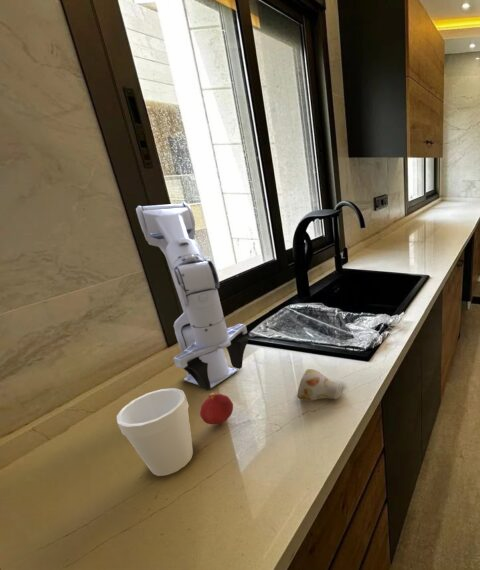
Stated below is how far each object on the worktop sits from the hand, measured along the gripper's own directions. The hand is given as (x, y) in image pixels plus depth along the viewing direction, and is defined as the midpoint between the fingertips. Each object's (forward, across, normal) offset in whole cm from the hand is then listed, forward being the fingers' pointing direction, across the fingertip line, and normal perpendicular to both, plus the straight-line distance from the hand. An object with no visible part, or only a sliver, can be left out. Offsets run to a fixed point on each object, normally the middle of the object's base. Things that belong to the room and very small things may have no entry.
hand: (222, 377), depth 70 cm
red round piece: (+10, -3, -1) cm, 10 cm away
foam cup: (+10, -13, -1) cm, 16 cm away
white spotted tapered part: (+10, +12, -16) cm, 22 cm away
